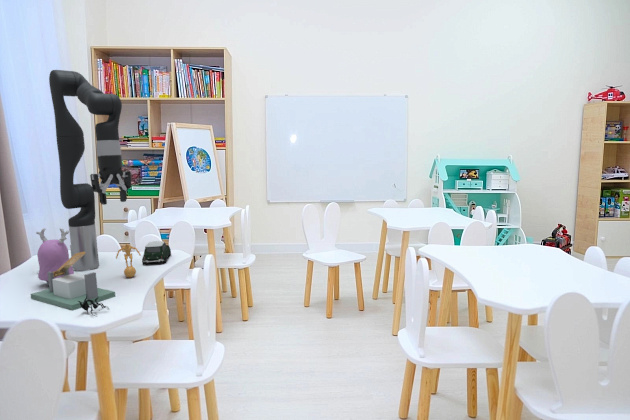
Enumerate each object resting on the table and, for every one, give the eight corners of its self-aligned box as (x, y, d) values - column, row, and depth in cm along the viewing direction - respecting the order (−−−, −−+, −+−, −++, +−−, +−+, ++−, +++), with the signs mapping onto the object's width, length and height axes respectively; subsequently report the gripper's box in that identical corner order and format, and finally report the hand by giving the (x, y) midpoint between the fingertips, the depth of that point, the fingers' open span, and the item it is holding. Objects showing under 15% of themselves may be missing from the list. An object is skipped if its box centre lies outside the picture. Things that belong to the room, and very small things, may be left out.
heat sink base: (31, 298, 148) (27, 270, 147) (73, 286, 160) (70, 260, 159) (72, 310, 136) (69, 280, 135) (115, 296, 148) (112, 268, 147)
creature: (113, 310, 138) (85, 306, 138) (115, 293, 138) (87, 289, 137) (103, 320, 131) (73, 316, 130) (106, 302, 130) (76, 297, 129)
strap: (53, 277, 150) (51, 272, 150) (62, 275, 152) (60, 270, 153) (77, 257, 141) (74, 251, 141) (86, 255, 144) (84, 249, 144)
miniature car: (171, 254, 204) (170, 236, 203) (165, 265, 186) (163, 245, 185) (150, 256, 203) (148, 238, 201) (141, 266, 185) (139, 246, 184)
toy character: (83, 281, 166) (77, 225, 163) (59, 290, 156) (52, 231, 154) (57, 279, 170) (51, 224, 167) (32, 287, 160) (25, 230, 158)
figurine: (118, 280, 166) (115, 247, 164) (117, 276, 171) (114, 244, 170) (143, 276, 170) (140, 244, 168) (141, 272, 175) (138, 241, 173)
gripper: (120, 153, 166) (125, 200, 168) (82, 155, 154) (87, 205, 156) (134, 153, 162) (138, 200, 164) (96, 154, 150) (101, 206, 152)
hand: (113, 202), depth 160 cm, fingers open, 7 cm apart
